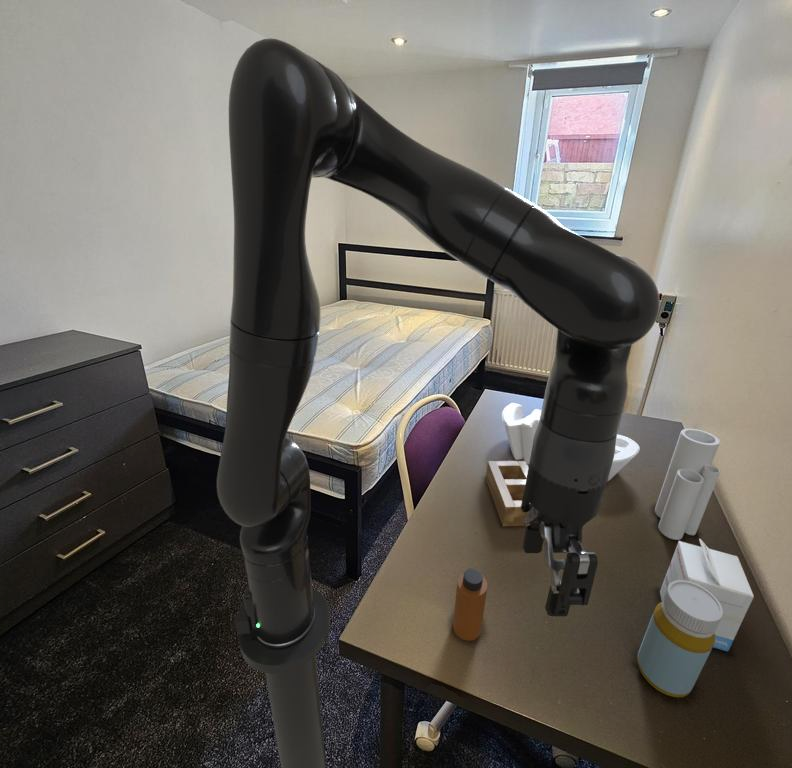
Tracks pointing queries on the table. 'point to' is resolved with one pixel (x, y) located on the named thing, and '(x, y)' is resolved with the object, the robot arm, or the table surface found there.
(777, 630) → the table surface
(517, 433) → the white foam letters
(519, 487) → the hole block
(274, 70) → the robot arm
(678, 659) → the bottle
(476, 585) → the small bottle
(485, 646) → the table surface
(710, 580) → the tissue box
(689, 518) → the vase
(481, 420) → the table surface
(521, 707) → the table surface
